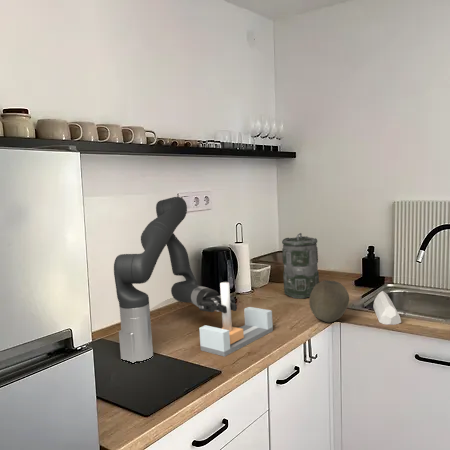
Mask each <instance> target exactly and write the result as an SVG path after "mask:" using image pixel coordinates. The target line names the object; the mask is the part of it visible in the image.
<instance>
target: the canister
mask: <svg viewBox="0 0 450 450" xmlns="http://www.w3.org/2000/svg"><path fill="white" fill-rule="evenodd" d="M281 243H282V264H283V275H282V276H283V290H284V292H283V293H284V295H286V296H288V297H290V298H293V299H299V300H300V299H306V298H310V294H311V292H312V290H313V288H314V287H315V285H316V284H318V283H319V282H320V275H319V273H320V272H319V271H318V263H319V255H318V254H319V253H318V252H319V250H318V249H319V248H318V247H317V244H318V239H317V238H316V237H315V238H314V237H309V236H303V235H302V232H300V233H298V234H297V235H296V237H285V238H284V239H282V240H281Z"/></svg>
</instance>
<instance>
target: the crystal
mask: <svg viewBox="0 0 450 450" xmlns="http://www.w3.org/2000/svg"><path fill="white" fill-rule="evenodd" d="M373 310H374V313H375V315H376V317H377V319H378V323H380V324H383V325H388V326H389V325H392V326H393V325H394V326H395V325H400V324H401V323H402V319H401V316H400V314H399V312H398V310H397V309H396V307H395V305H394V303H393V301H392V299H391V298H390V296H389V294H388V293H386V292H385V291H384V290H382V291H380V292H379V293H378V294H377V295H376V297H375V299H374V301H373Z"/></svg>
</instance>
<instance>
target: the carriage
mask: <svg viewBox="0 0 450 450" xmlns="http://www.w3.org/2000/svg"><path fill="white" fill-rule="evenodd" d="M219 287H220V288H219V289H220V296H221V304H222V305H224V306H226V307H227V313H223V312H221V320H222V321H221V322H222V327H221V329H225V330H229V335H230V344H232V343H234V342H236V341H238V340H240V339H242V338H244V334H243V329H241V328H240V327H235V326H233V324H232V310H231V305H230V296H231V293H230V292H231V290H230V288H231V287H230V282H228V281H223V282H220V283H219Z"/></svg>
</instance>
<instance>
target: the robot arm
mask: <svg viewBox="0 0 450 450" xmlns="http://www.w3.org/2000/svg"><path fill="white" fill-rule="evenodd" d="M187 212H188V206H187V201H185V199H184V198H182V197H181V196H172V197H169V198H165V199H161V200H158V201H157V202H156V205H155V213H156V216H157V217H156V218H154V219H153V220H151V221H150V222H149V223H148V224H147V225H146V227H145V228H144V230H142V233H141V235H140V244H141V247H142V248H143V250H144V251H143V252H141V253H124V254H123V253H122V254H118V255H117V256H116V258H115V259H114V263H113V276H114V284H115V289H116V290H115V292H116V297H117V298H116V299H117V302H118V304H119V305H118V306H119V317H120V318H119V319H120V330H118V338H119V339H118V340H119V350H120V360H121V359H123V360H127V361H130V362H132V363H134V362H136V361H143V360H146V359H149V358H151V357H152V356H153V357H154V348H153V336H152V335H153V334H152V324H151V310H150V299H149V294H148V293H146V292H145V291H142V290H139V289H138V288H136V287H135V286H134V284H135V285H136V284H137V285H138V284H141V285H142V284H145V283H147V282H148V281H149V280H150V279H151V277H152V275H153V272H154V269H155V268H156V265H157V262H158V260H159V258H160V256H161V254H162V252H163V251H164V249H165V247H167V251H168V254H169V259H170V261H169V262H170V265H171V271H172V274H173V275H174V276H176V277H177V276H181V277H183V279H185V280H182V281H178V282H175V283H174V284H173V285H172V286H171V288H170V289H171V290H170V293H171V296H172V298H173V299H174V300H176V301H178V302H181V303H189V304H193V305H194V306H196V307H198V309H199V311H203V312H209V313H214V312H220V313H222V312H223V313H227V307H226V306H224V305H222V304H221V294H220V293H219V292H218V291H217V290H215V289H212V288H209V287H206V286H202V285H200V284H198V281H197V279H196V278H195V276H194V275H195V274H194V273H193V270H192V268H191V264H190V258H189V254H188V251H187V248H186V247H185V245H184V244H183V243H182V242H181V241H180V240H179V239H178V237H177V236H176V235H175V231H176V229H177V228H178V226H179V225H180V224H181V223H182V222H183V220H184V219H185V218H186V215H187V214H188V213H187ZM230 305H231V311H233V312H237V309H238V308H237V304H236V299H235V297H234V296H233V295H230ZM153 357H152V358H153ZM152 358H151V359H152ZM149 360H150V359H149Z"/></svg>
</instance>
